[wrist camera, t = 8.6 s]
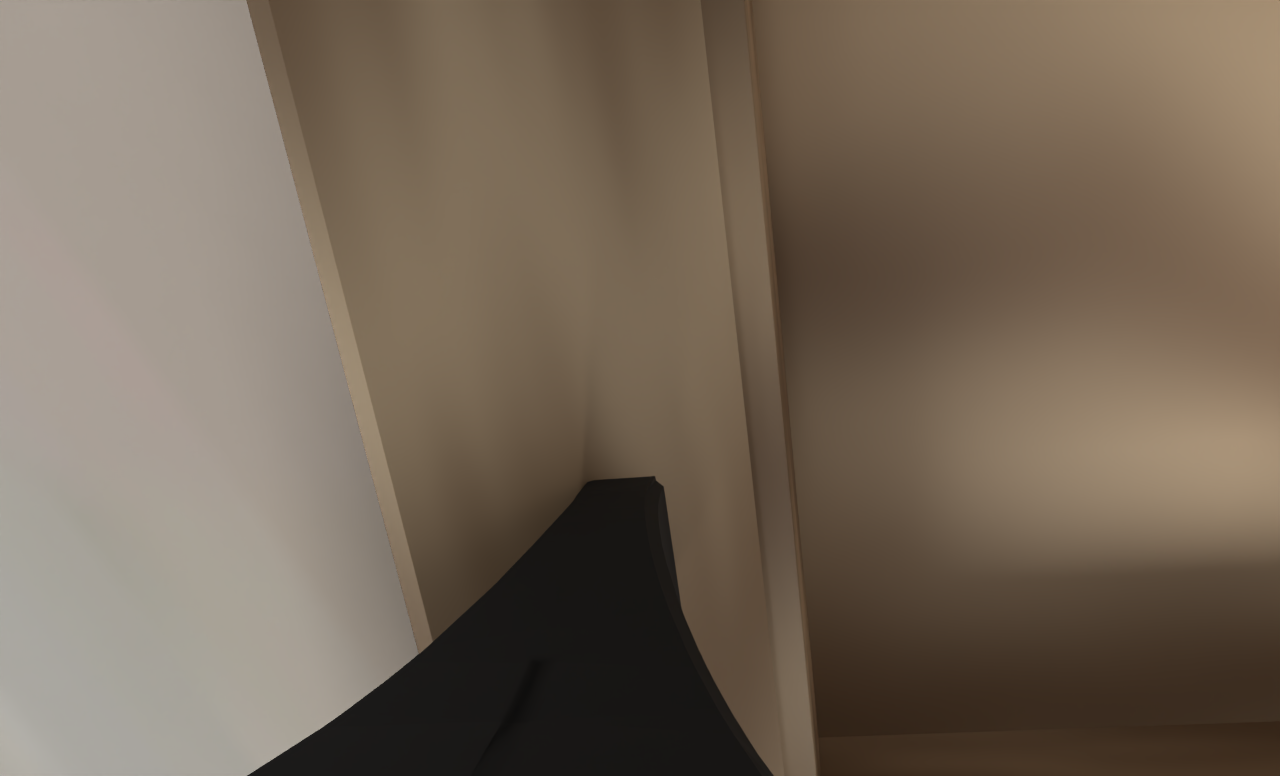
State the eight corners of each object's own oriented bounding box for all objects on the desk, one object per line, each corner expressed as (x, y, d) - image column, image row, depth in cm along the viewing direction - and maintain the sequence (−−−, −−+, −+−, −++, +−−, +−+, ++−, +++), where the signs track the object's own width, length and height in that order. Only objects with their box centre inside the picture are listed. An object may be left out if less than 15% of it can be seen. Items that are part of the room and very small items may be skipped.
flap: (808, 991, 15) (581, 1220, 13) (787, 975, 15) (562, 1197, 13) (669, -292, 9) (195, -281, 7) (640, -282, 9) (176, -270, 7)
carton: (1525, 740, 18) (1741, 985, 14) (792, 764, 20) (800, 988, 16) (1818, -513, 12) (2382, -720, 8) (682, -313, 13) (645, -396, 9)
